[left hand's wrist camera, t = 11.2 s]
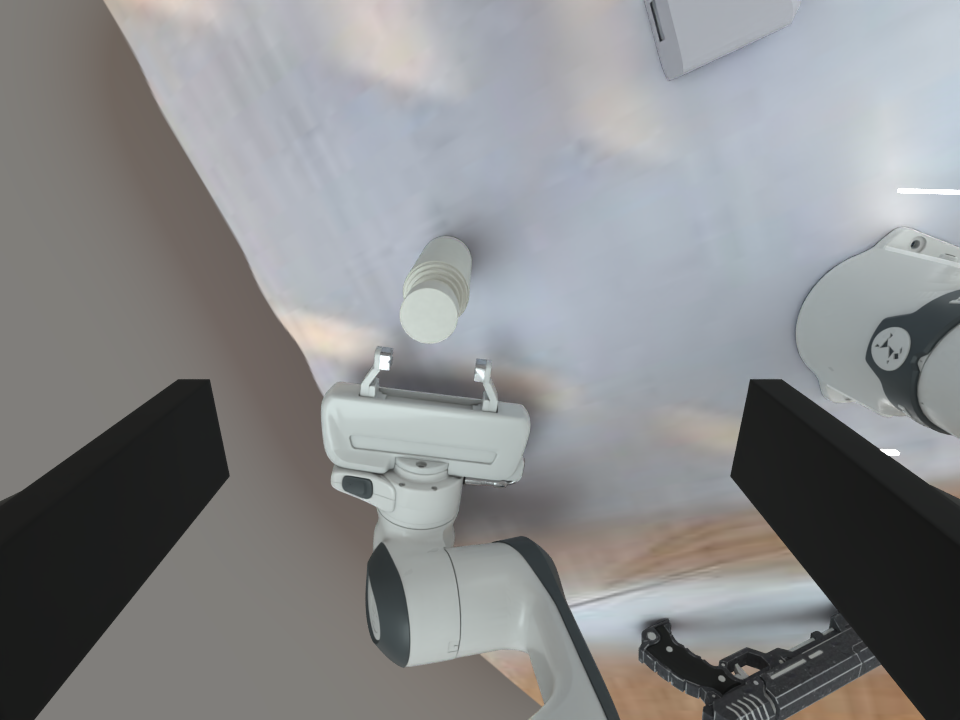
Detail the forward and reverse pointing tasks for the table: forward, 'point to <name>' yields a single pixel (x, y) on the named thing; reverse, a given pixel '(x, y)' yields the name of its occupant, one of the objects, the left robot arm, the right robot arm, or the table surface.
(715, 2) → the charger
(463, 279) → the bottle
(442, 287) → the cap
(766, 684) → the futuristic handgun
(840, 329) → the right robot arm
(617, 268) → the table surface
